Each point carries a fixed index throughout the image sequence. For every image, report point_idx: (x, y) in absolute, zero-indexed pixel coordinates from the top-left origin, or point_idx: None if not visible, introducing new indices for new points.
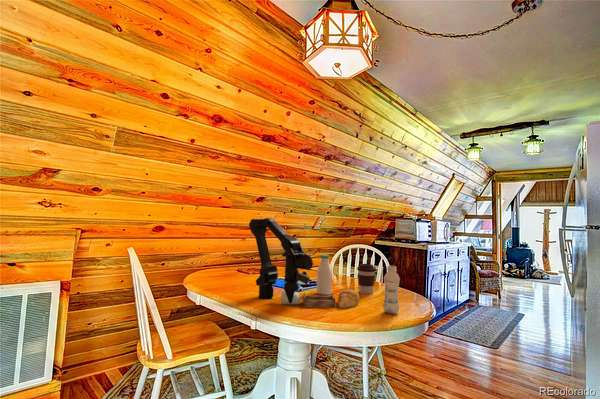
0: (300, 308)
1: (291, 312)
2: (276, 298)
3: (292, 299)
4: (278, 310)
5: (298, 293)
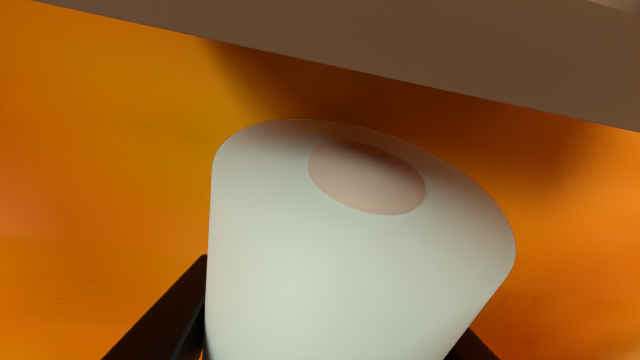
0: (571, 150)
1: (636, 274)
2: (16, 346)
3: (469, 329)
4: (500, 353)
5: (416, 326)
